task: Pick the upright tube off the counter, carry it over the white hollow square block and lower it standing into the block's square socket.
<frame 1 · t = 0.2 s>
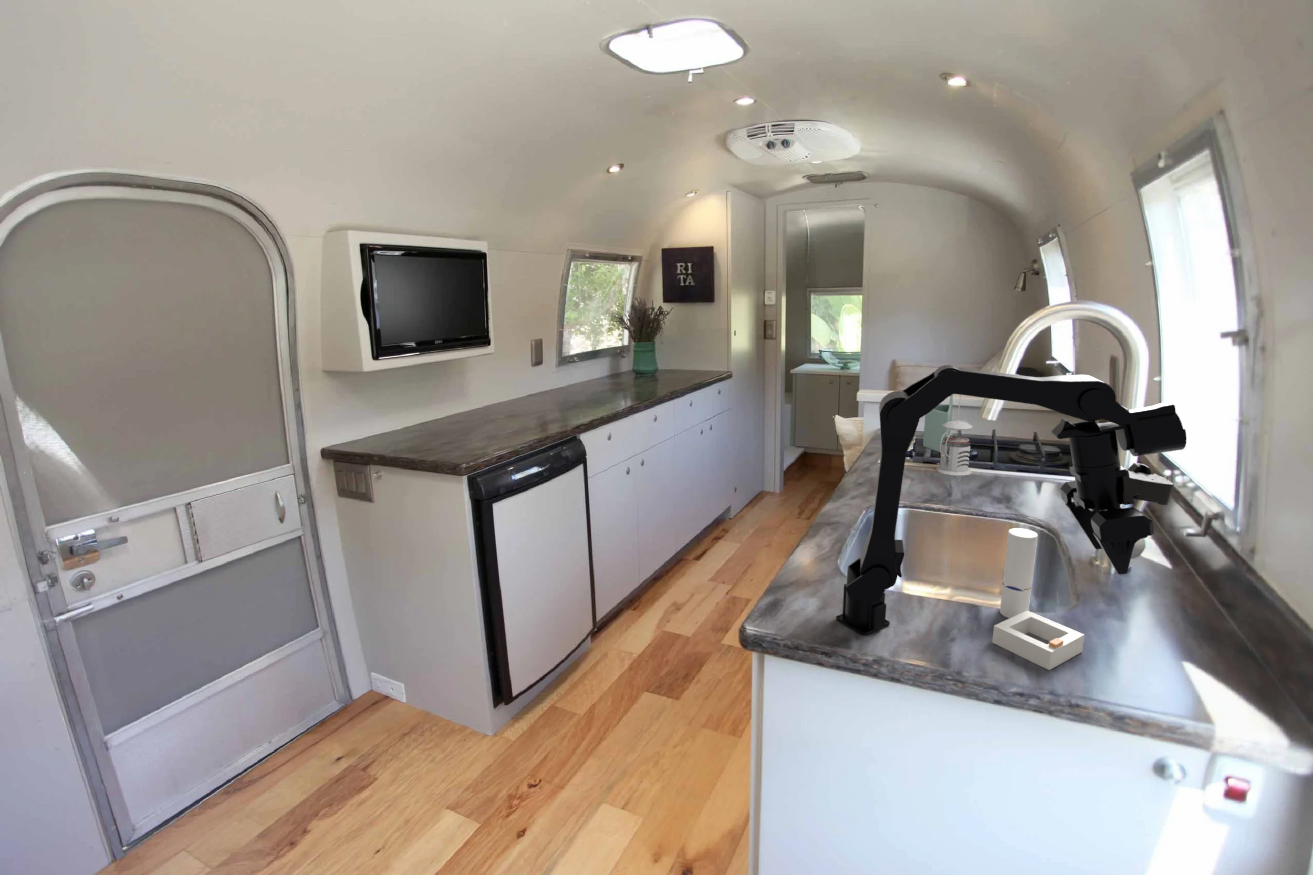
hand: (1110, 560, 97), 15 cm above the worktop, tool pointing down, fingers open, 9 cm apart
white hollow square block: (1036, 647, 102), on the worktop
french press: (951, 471, 194), on the worktop
planter: (935, 447, 221), on the worktop
tube: (1013, 614, 113), on the worktop
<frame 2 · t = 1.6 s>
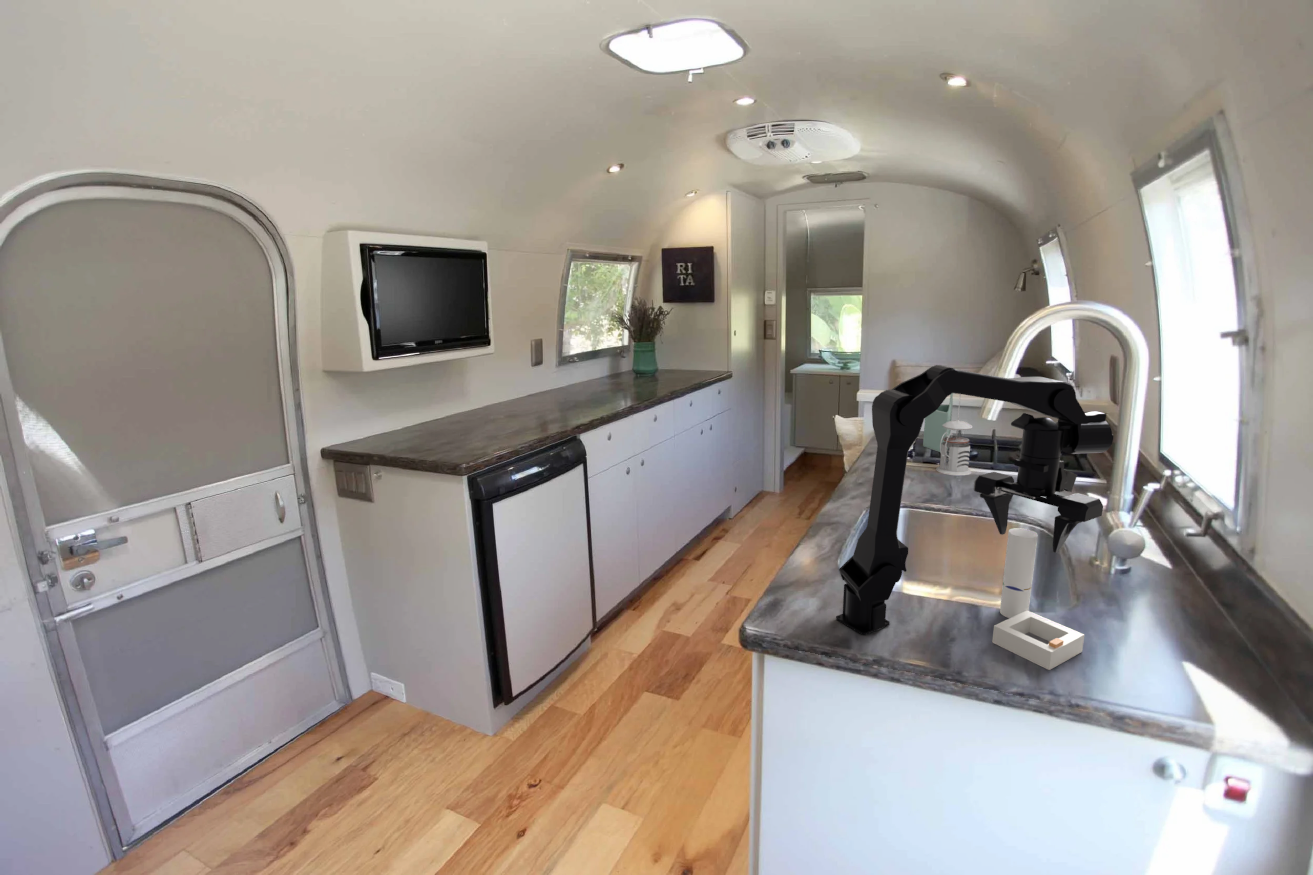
hand: (1028, 542, 111), 13 cm above the worktop, tool pointing down, fingers open, 9 cm apart
nothing on the worktop moved.
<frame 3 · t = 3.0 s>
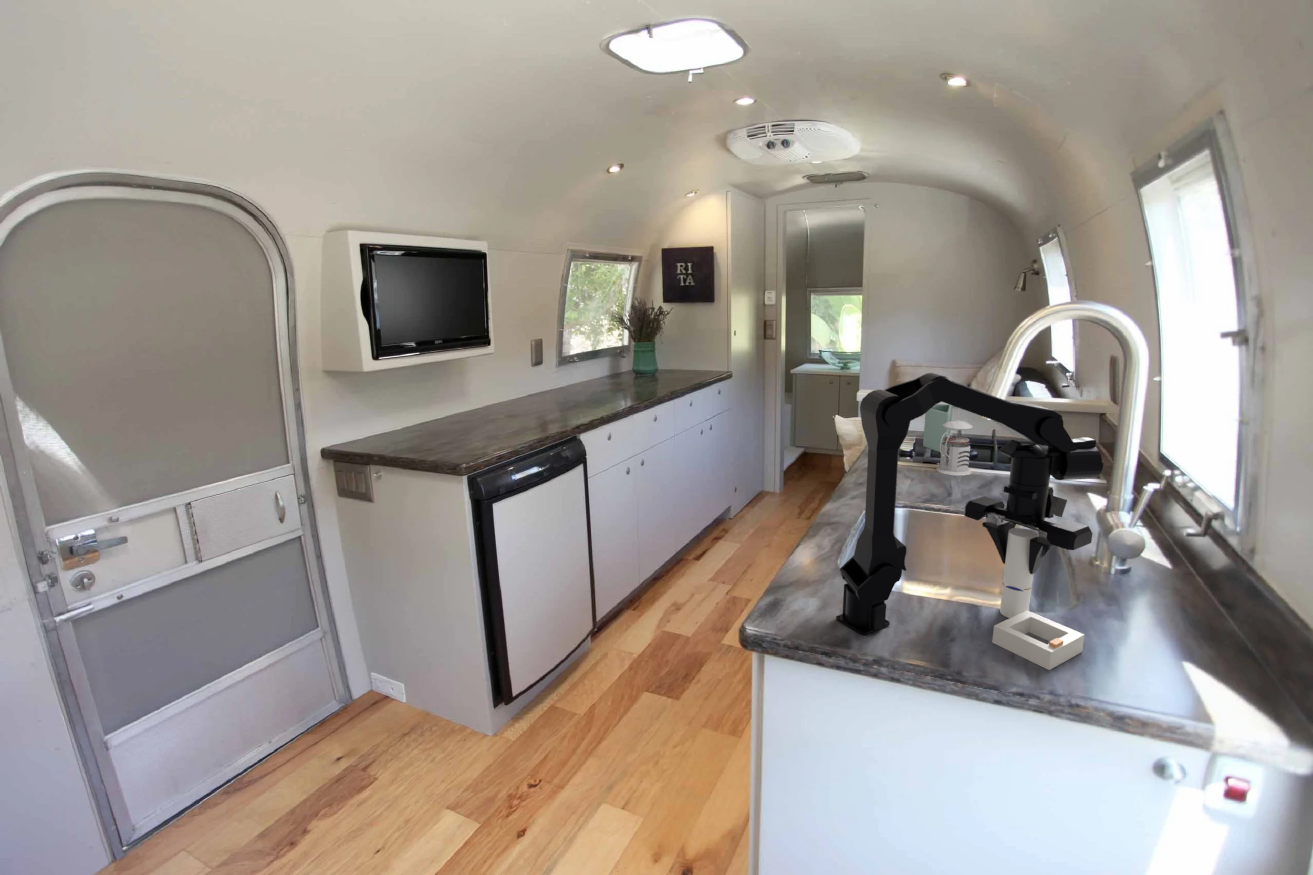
hand: (1018, 568, 111), 9 cm above the worktop, tool pointing down, fingers closed on tube, 4 cm apart
tube: (1013, 614, 113), on the worktop, touching gripper
everything else where it was.
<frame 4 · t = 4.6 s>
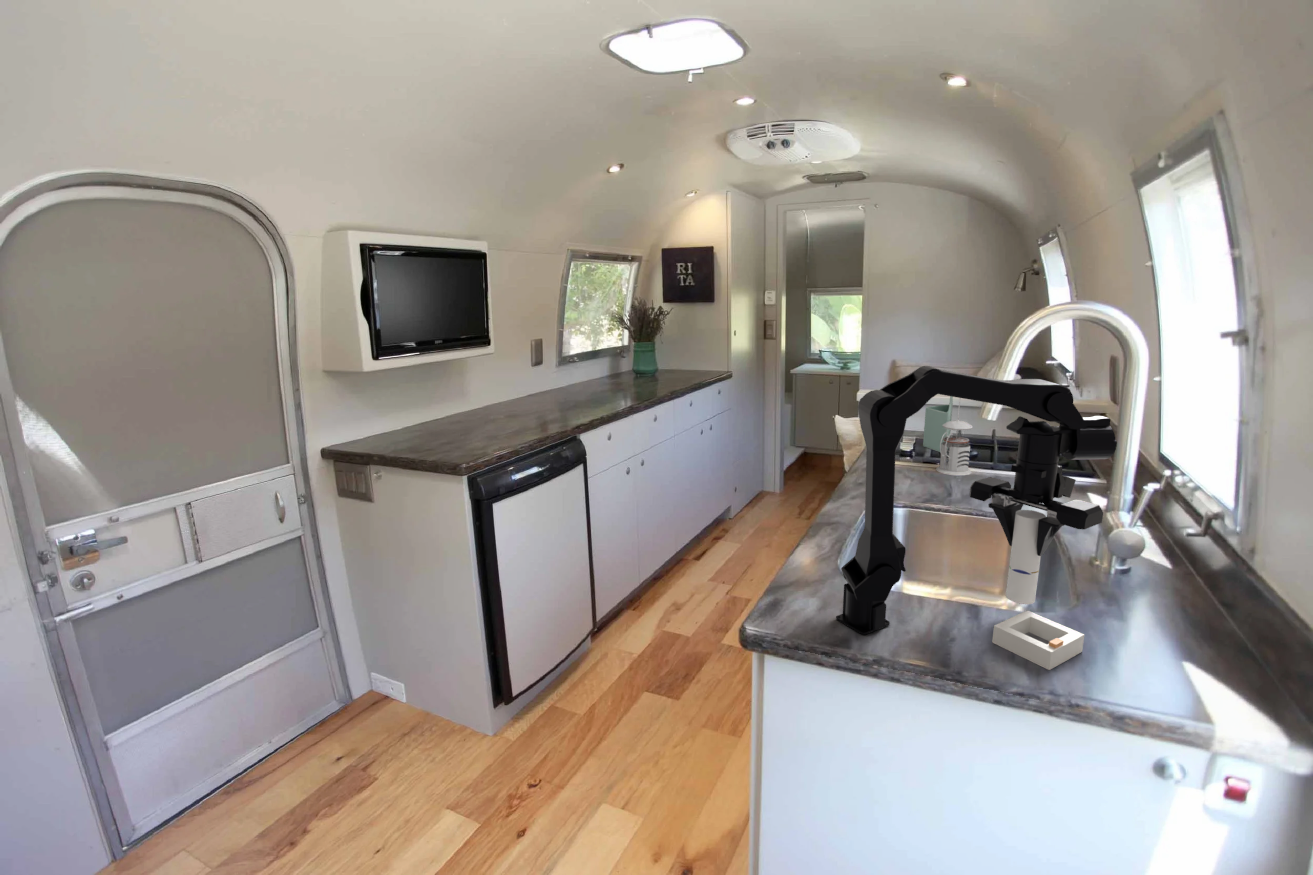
hand: (1026, 550, 107), 13 cm above the worktop, tool pointing down, fingers closed on tube, 4 cm apart
tube: (1020, 599, 109), point 4 cm above the worktop, touching gripper
everything else where it was.
when the fingers open (10 cm above the worktop, at t = 6.3 s): tube stays where it is, resting on white hollow square block.
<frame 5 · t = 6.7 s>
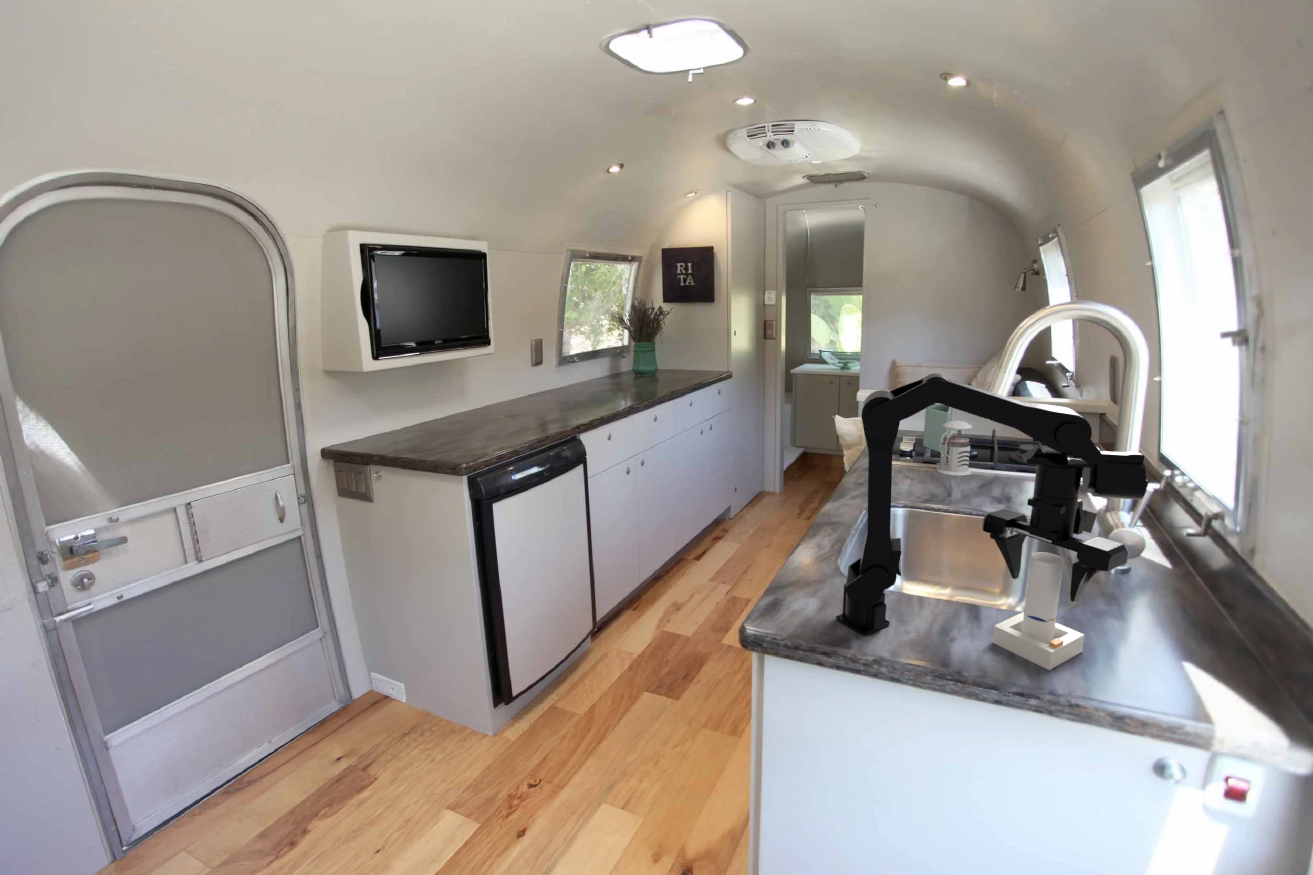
hand: (1043, 589, 100), 10 cm above the worktop, tool pointing down, fingers open, 9 cm apart
tube: (1035, 646, 103), resting on white hollow square block
everything else where it was.
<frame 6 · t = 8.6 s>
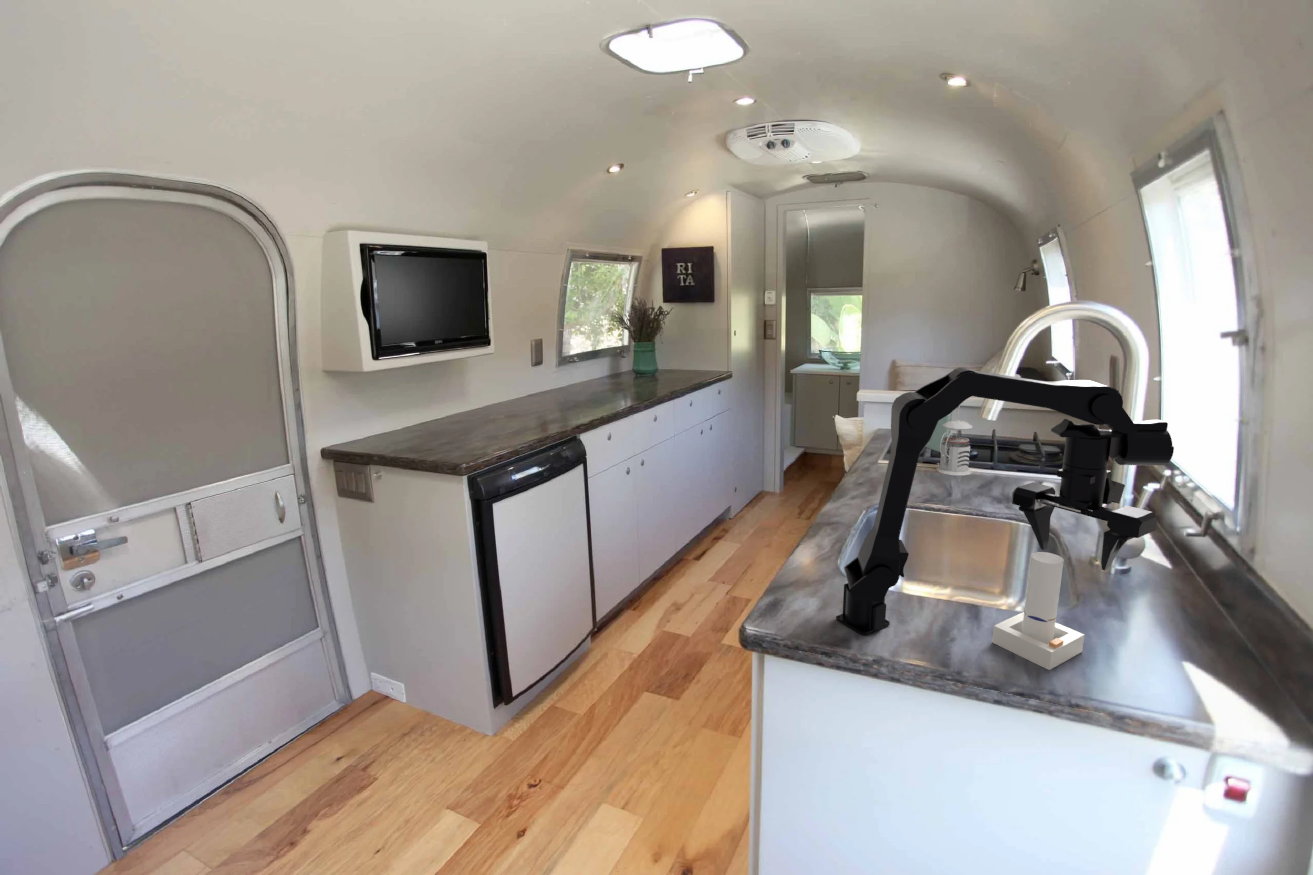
hand: (1073, 559, 103), 13 cm above the worktop, tool pointing down, fingers open, 9 cm apart
nothing on the worktop moved.
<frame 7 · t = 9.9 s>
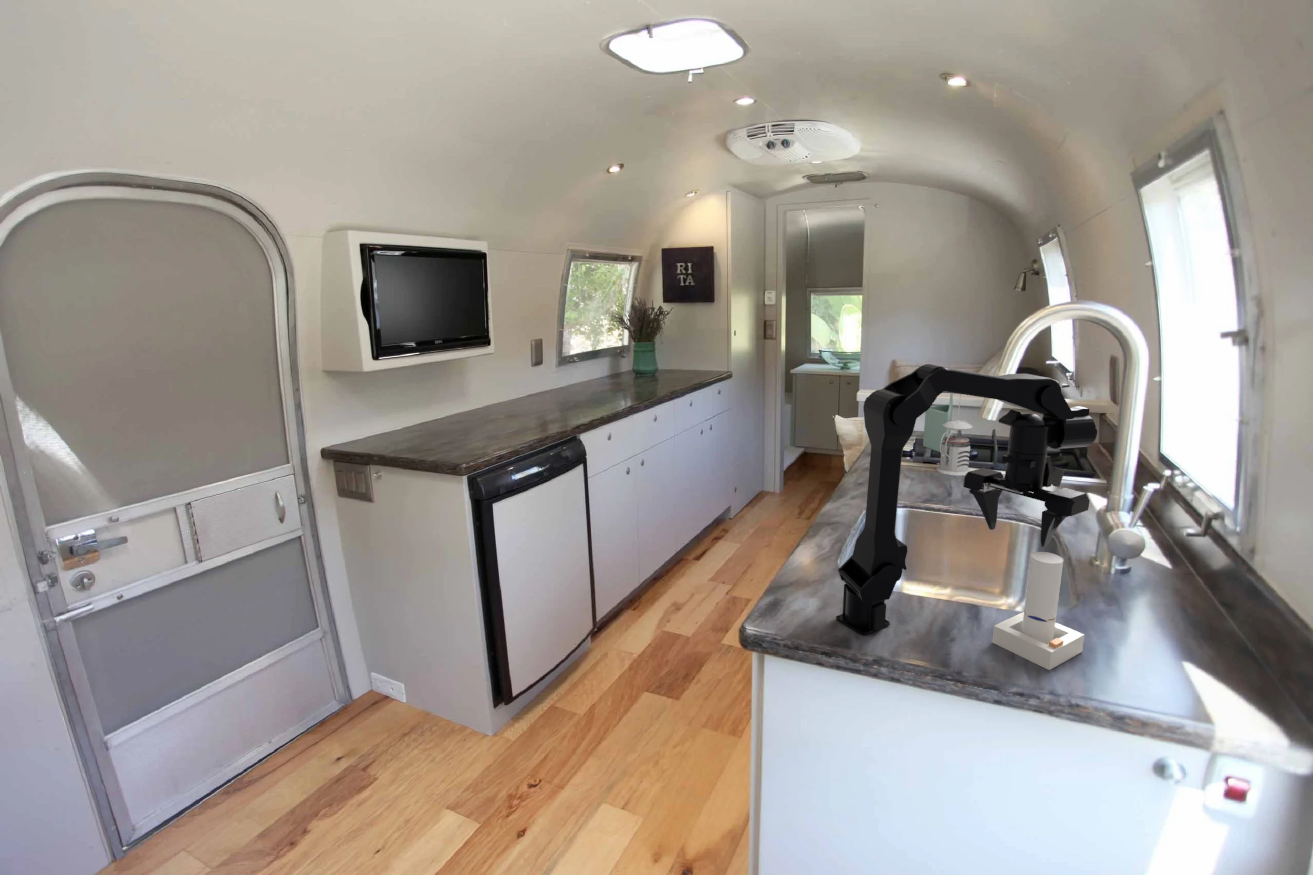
hand: (1017, 537, 112), 13 cm above the worktop, tool pointing down, fingers open, 9 cm apart
nothing on the worktop moved.
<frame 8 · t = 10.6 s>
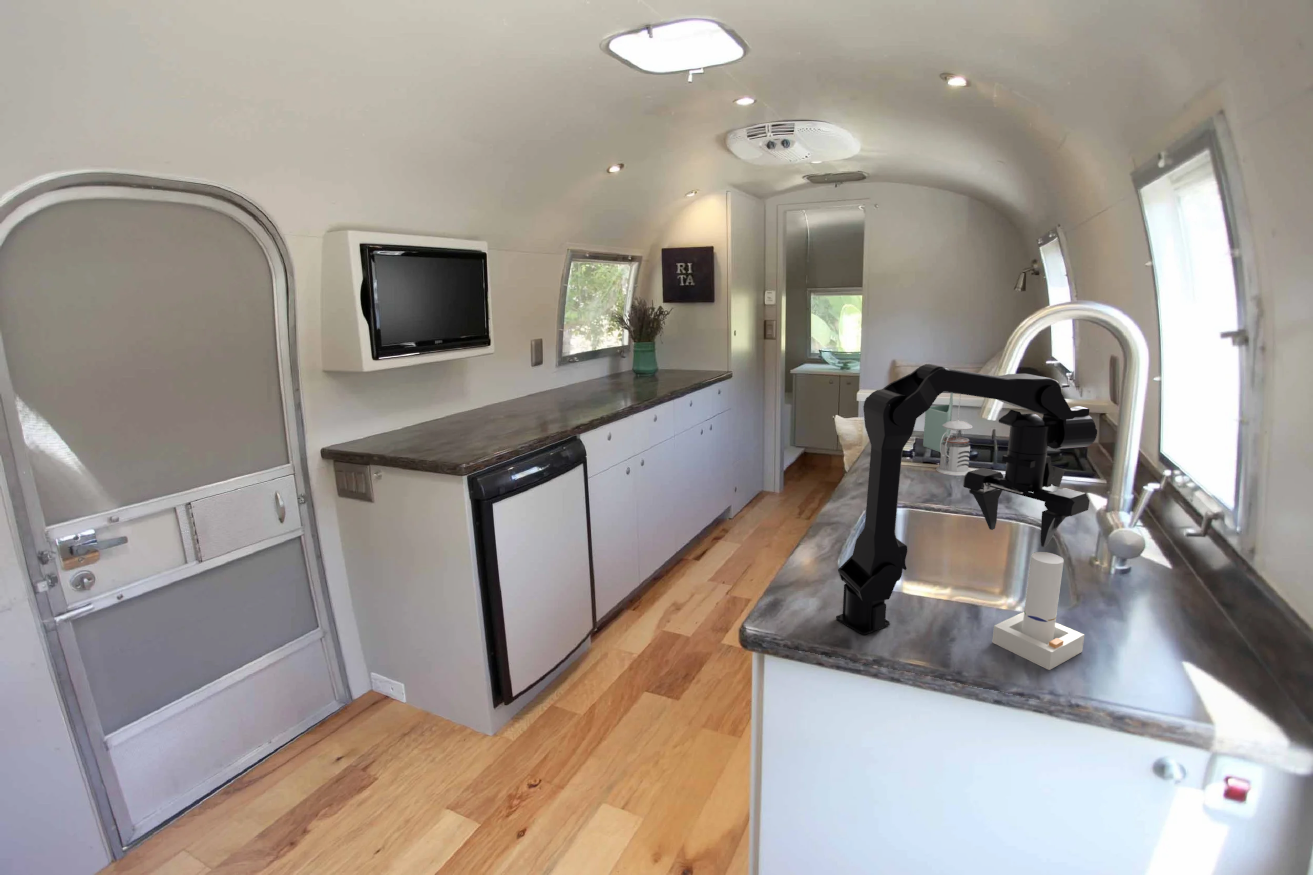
hand: (1017, 537, 112), 13 cm above the worktop, tool pointing down, fingers open, 9 cm apart
nothing on the worktop moved.
at the end: tube 0.1 cm off-centre on the white hollow square block, point 0.0 cm above the white hollow square block's base; tube tilted 0°; the gripper is holding nothing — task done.
